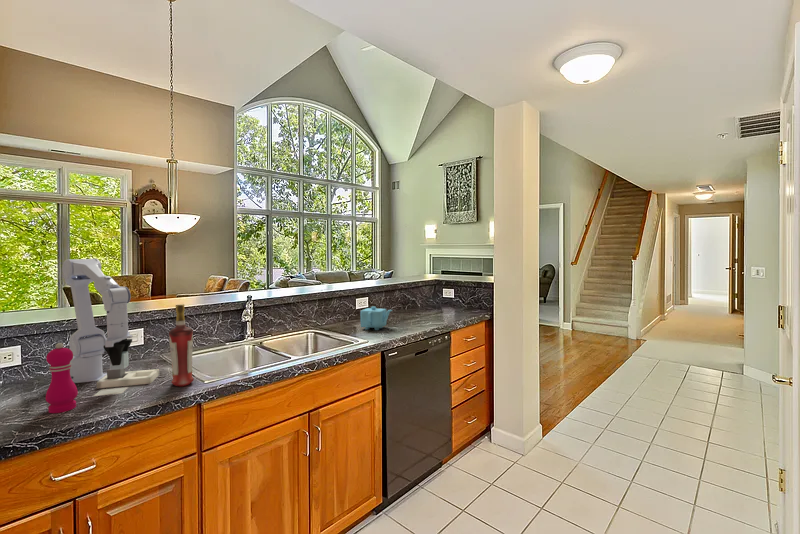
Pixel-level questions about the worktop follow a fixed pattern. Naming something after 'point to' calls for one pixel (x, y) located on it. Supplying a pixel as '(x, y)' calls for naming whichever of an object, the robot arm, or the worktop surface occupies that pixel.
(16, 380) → the worktop surface
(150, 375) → the white tray
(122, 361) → the plug
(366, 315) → the teapot
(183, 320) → the liquor
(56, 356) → the pepper mill
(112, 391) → the mat
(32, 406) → the worktop surface
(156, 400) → the worktop surface
